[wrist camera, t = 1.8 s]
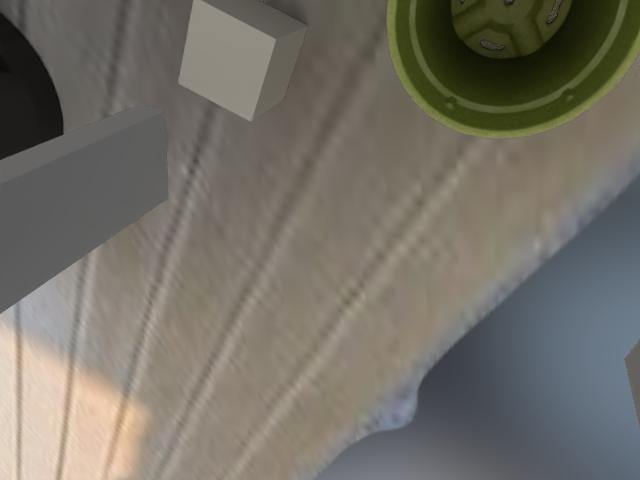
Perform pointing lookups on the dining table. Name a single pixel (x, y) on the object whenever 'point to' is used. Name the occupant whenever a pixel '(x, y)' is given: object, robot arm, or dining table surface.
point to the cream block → (240, 54)
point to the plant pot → (510, 60)
